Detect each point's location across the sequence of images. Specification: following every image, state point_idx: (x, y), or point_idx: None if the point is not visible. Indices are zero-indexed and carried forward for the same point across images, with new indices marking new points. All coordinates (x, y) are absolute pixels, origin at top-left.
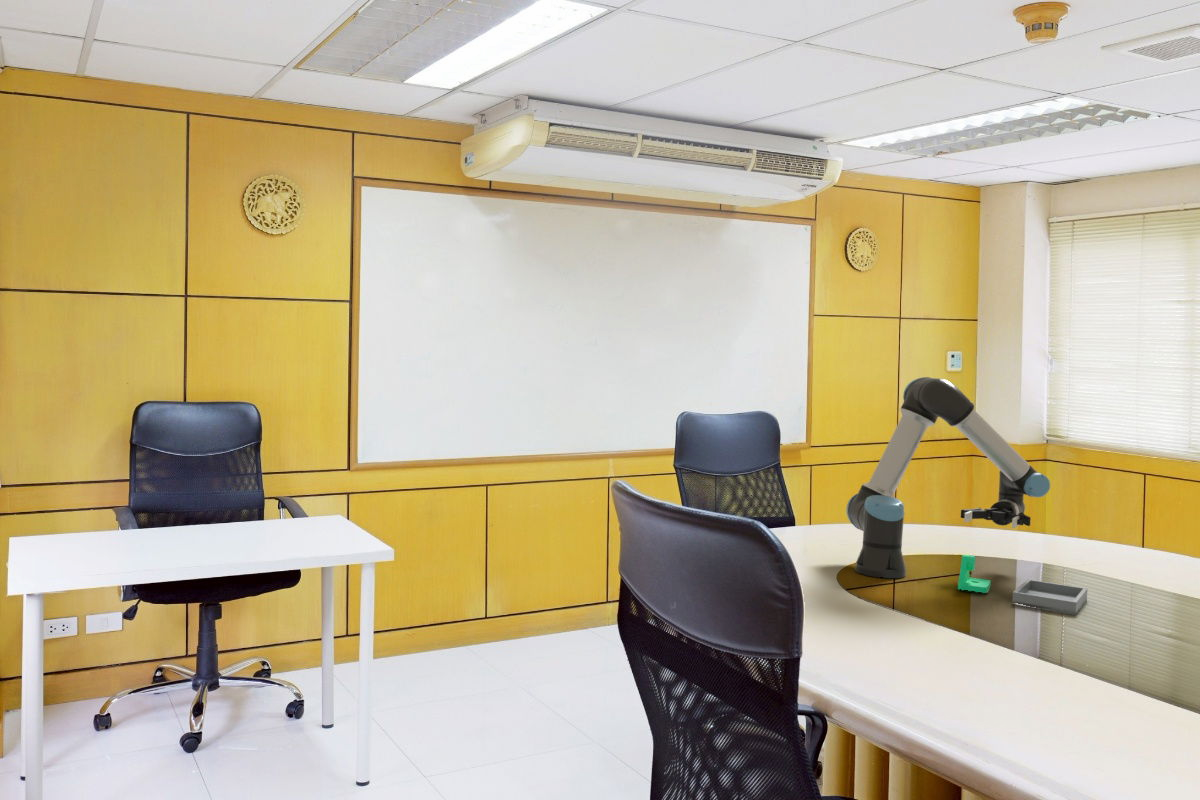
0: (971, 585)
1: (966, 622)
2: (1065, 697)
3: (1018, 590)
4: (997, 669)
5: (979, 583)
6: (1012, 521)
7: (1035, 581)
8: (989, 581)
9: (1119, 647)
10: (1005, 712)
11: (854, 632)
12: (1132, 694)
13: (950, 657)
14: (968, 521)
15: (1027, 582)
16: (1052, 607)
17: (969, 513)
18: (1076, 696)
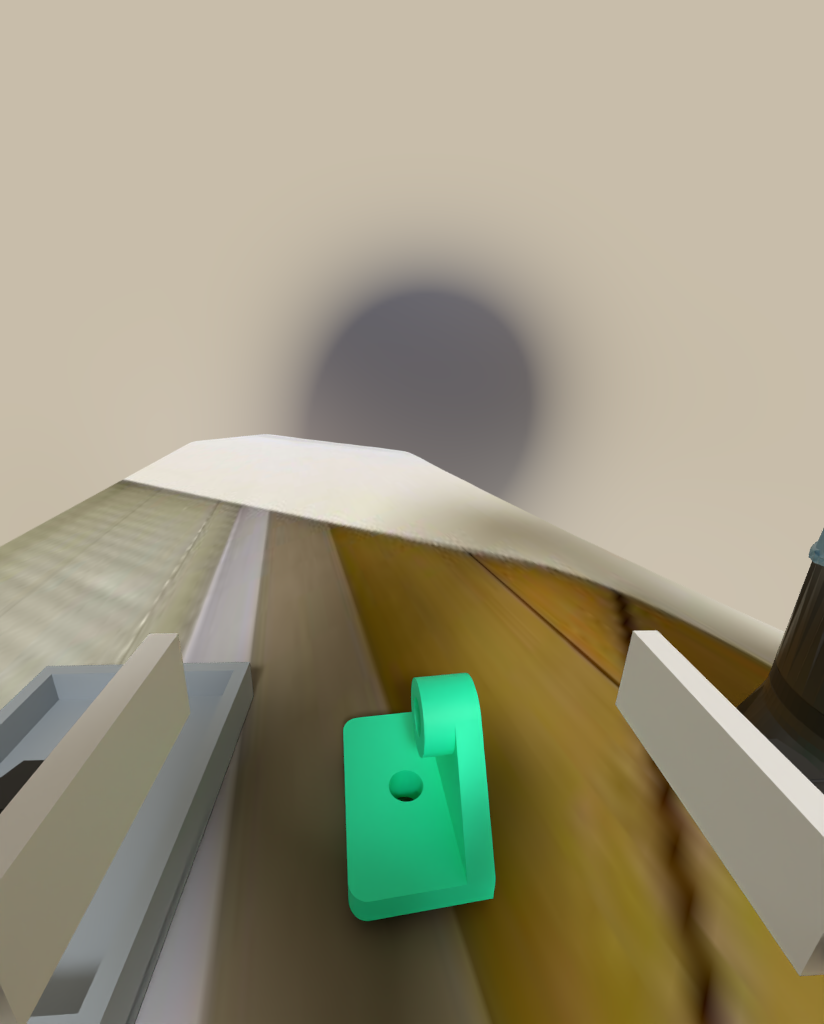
0: (397, 716)
1: (342, 551)
2: (233, 470)
3: (226, 692)
4: (287, 482)
5: (382, 772)
6: (179, 658)
7: (44, 1016)
8: (351, 858)
9: (87, 560)
10: (281, 455)
11: (442, 492)
12: (165, 483)
13: (333, 485)
14: (654, 759)
15: (136, 893)
16: None
17: (694, 709)
18: (223, 472)
